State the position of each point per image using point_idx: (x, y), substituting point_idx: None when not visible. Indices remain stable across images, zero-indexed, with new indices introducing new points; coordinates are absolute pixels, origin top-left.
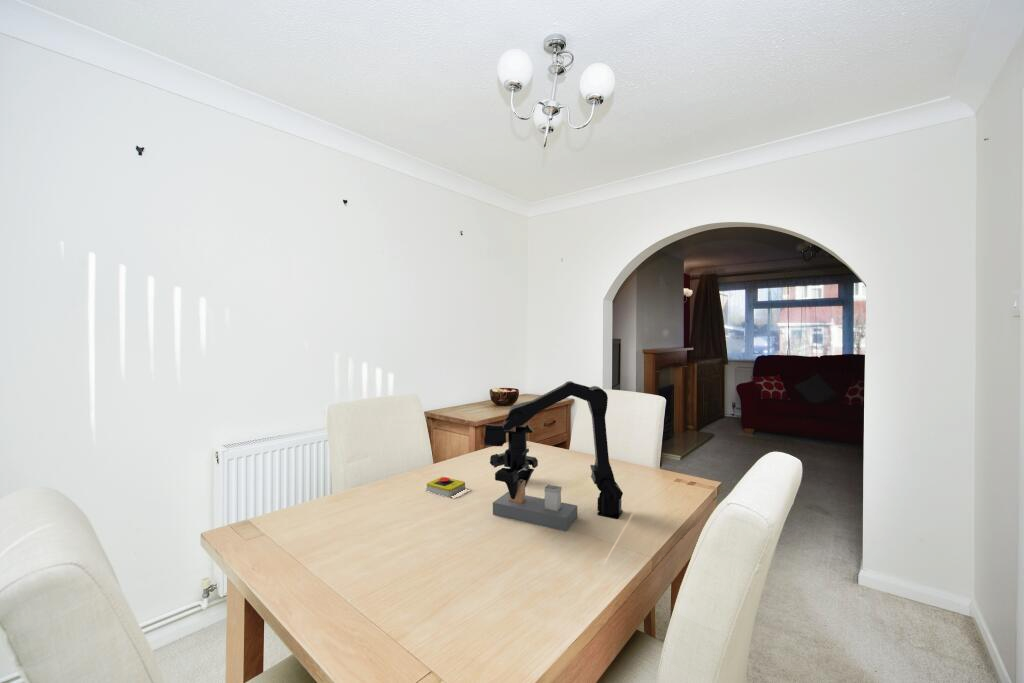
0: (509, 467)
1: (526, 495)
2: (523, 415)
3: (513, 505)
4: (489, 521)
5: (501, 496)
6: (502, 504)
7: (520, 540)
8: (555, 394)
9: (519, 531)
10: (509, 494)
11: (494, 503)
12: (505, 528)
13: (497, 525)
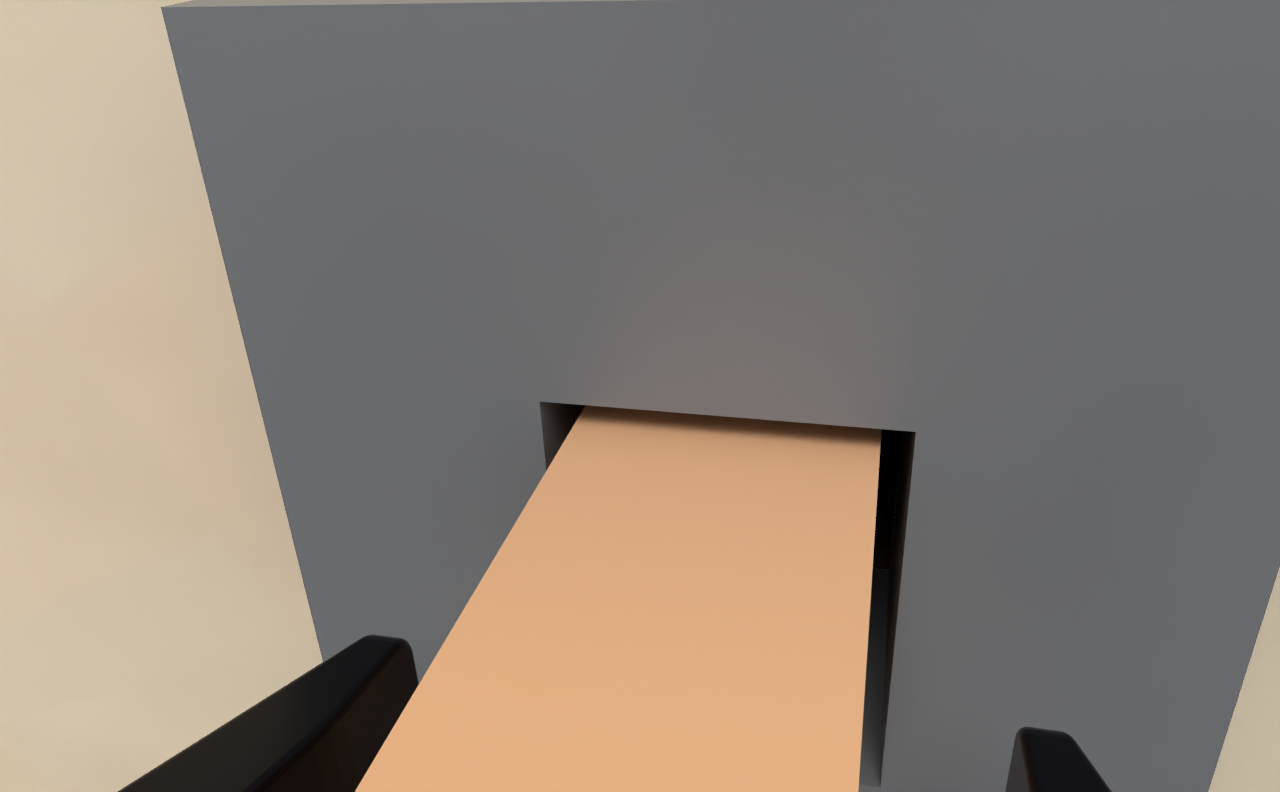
0: None
1: (1211, 736)
2: None
3: (378, 615)
4: (114, 68)
5: (775, 9)
6: (253, 352)
7: (48, 716)
8: None
9: (205, 652)
10: (499, 552)
11: (190, 76)
12: (132, 454)
13: (111, 294)
